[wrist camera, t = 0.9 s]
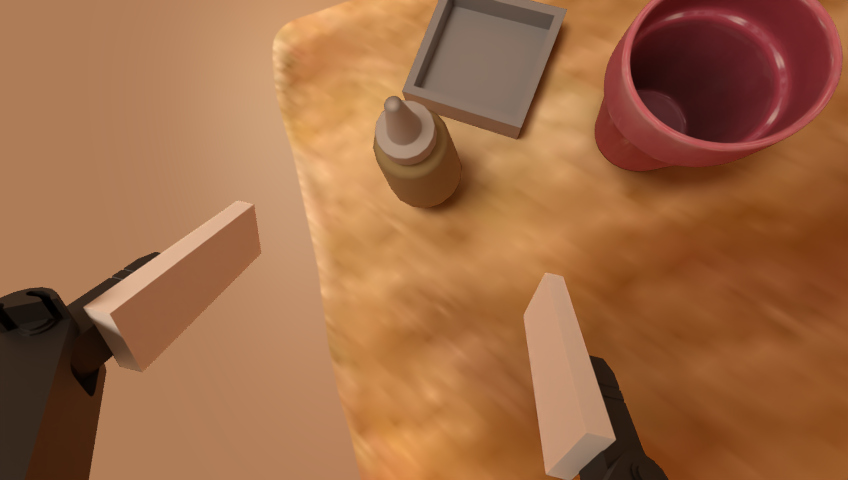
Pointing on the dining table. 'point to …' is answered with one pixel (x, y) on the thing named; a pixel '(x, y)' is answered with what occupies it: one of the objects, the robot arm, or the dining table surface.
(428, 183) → the squeeze bottle
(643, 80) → the plant pot
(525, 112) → the tray
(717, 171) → the dining table surface
